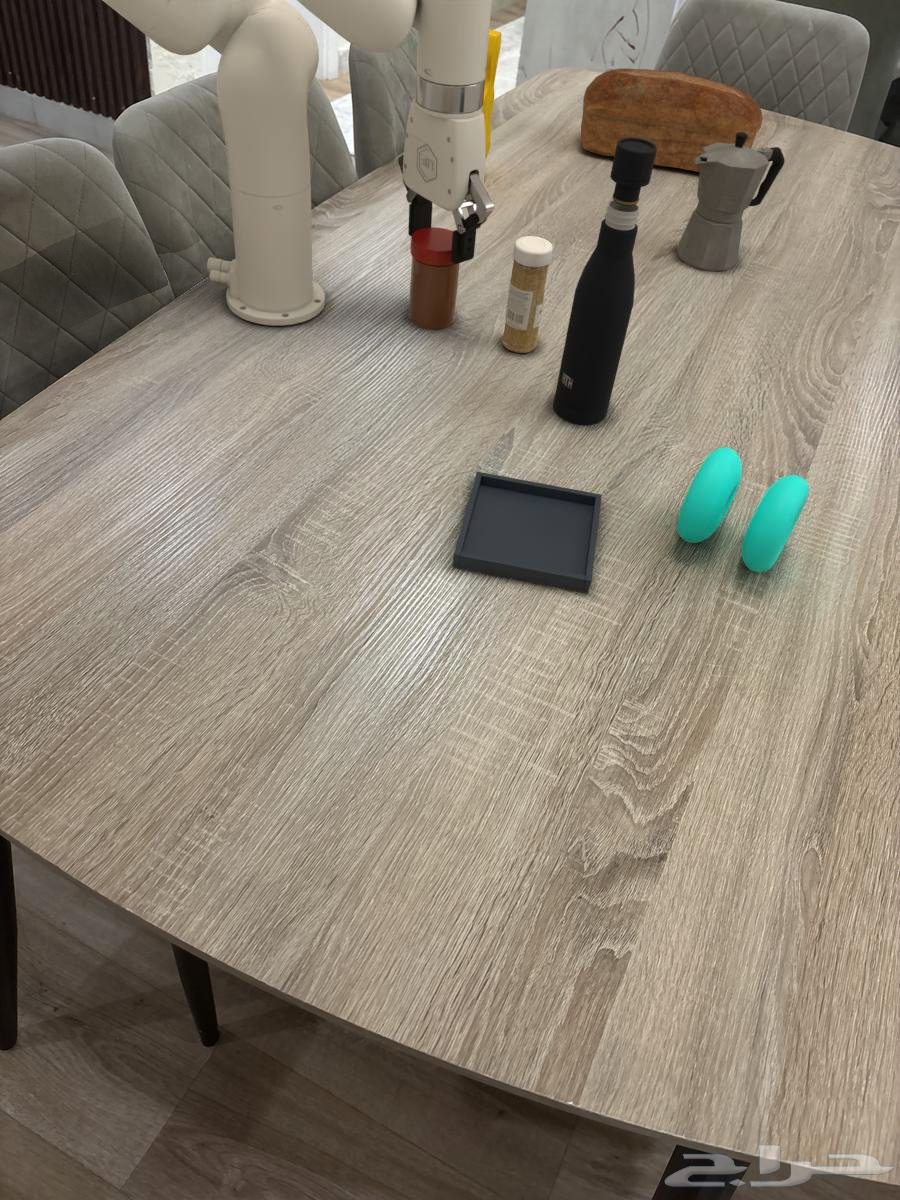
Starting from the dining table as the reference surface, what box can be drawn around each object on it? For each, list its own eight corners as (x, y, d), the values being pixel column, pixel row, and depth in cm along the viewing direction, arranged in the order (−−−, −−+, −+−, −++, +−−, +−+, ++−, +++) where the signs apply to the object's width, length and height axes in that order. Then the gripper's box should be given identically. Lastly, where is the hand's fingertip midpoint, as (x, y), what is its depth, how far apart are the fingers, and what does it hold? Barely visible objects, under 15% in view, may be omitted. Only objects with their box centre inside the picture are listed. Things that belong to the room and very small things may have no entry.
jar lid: (404, 260, 115) (405, 245, 113) (415, 238, 119) (416, 223, 118) (456, 269, 114) (458, 254, 113) (466, 246, 119) (467, 232, 117)
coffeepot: (686, 277, 137) (722, 149, 124) (652, 248, 143) (684, 122, 130) (771, 265, 142) (814, 141, 129) (735, 238, 148) (773, 116, 135)
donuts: (757, 596, 91) (793, 518, 84) (662, 553, 94) (689, 474, 87) (788, 540, 97) (824, 463, 90) (699, 502, 100) (726, 425, 93)
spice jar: (543, 349, 120) (561, 247, 110) (514, 357, 118) (530, 255, 108) (522, 332, 122) (537, 231, 112) (493, 340, 120) (507, 238, 110)
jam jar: (403, 324, 121) (408, 249, 114) (413, 302, 125) (418, 228, 118) (449, 332, 120) (456, 257, 113) (457, 310, 125) (465, 236, 117)
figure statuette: (459, 155, 162) (472, 9, 146) (502, 165, 160) (520, 19, 145) (421, 192, 150) (431, 37, 134) (467, 203, 148) (482, 48, 133)
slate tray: (452, 567, 90) (453, 554, 89) (475, 483, 99) (476, 471, 98) (588, 593, 89) (591, 580, 88) (598, 506, 98) (601, 494, 97)
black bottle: (611, 402, 112) (675, 140, 91) (600, 430, 108) (664, 163, 87) (560, 388, 114) (611, 127, 92) (546, 416, 109) (597, 149, 88)
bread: (745, 187, 163) (770, 103, 153) (571, 154, 166) (585, 71, 157) (747, 161, 171) (771, 81, 162) (581, 131, 175) (595, 51, 165)
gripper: (375, 74, 106) (374, 227, 119) (474, 124, 97) (462, 284, 110) (427, 64, 110) (421, 214, 122) (528, 112, 101) (509, 268, 113)
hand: (440, 246), depth 116 cm, fingers open, 7 cm apart
